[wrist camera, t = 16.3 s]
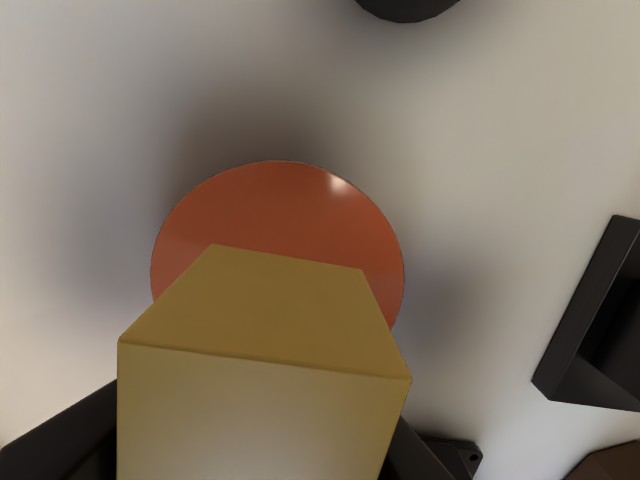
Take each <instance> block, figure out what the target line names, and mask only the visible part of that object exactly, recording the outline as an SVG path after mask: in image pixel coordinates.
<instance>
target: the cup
mask: <svg viewBox="0 0 640 480" xmlns="http://www.w3.org/2000/svg"><path fill="white" fill-rule="evenodd" d="M355 1H356V2H357V3H358V4H359V5H360V6H361V7H362V8H363V9H365V10H367V11H368V12H370V13H372V14H373V15H375V16H377V17H379V18H381V19H385V20H389V21H392V22H396V23H412V22H420V21H423V20H426V19H429V18H432V17H435V16H437V15H439V14H440V13H442V12H444V11H445V10H447V9H448V8H450V7H451V6H453V5H454V4H456V3H457V2H459V1H460V0H355Z"/></svg>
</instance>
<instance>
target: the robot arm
mask: <svg viewBox="0 0 640 480" xmlns="http://www.w3.org/2000/svg"><path fill="white" fill-rule="evenodd" d="M482 458H483V454H482V452H481V451H480V449H479V447H478V446H477V445H476V444H473V443H464V442H455V441H446V440H437V439H428V438H419V436H418V435H417V434H416V433H415V432H414V431H413V429H412V428H411V427H410V426H409V425H408V423H407V422H406V421H405V420H404V419H403V418H402V416H401V415H400V416H399V419H398V422H397V425H396V428H395V431H394V433H393V436H392V439H391V442H390V445H389V448H388V451H387V453H386V456H385V459H384V462H383V465H382V468H381V470H380V473H379V476H378V479H377V480H473V477H474V475H475V473H476V471H477V469H478V466H479V464H480V462H481V460H482ZM116 469H117V379H115V380H114V381H112V382H110V383H109V384H107V385H105V386H104V387H102V388H100V389H99V390H97V391H95V392H94V393H92V394H90V395H89V396H87V397H85V398H84V399H82V400H80V401H79V402H77V403H75V404H74V405H72V406H70V407H69V408H67V409H65V410H64V411H62V412H60V413H59V414H57V415H55V416H54V417H52V418H50V419H49V420H47V421H46V422H44V423H42V424H41V425H39V426H37V427H36V428H34V429H32V430H31V431H29V432H27V433H26V434H24V435H22V436H21V437H19V438H17V439H16V440H14V441H12V442H11V443H9V444H7V445H6V446H4V447H3V448H2V449H1V450H0V480H116Z"/></svg>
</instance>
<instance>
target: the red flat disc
mask: <svg viewBox="0 0 640 480" xmlns="http://www.w3.org/2000/svg"><path fill="white" fill-rule="evenodd" d="M211 244H217V245H222V246H228V247H234V248H240V249H246V250H252V251H257V252H263V253H269V254H275V255H281V256H287V257H292V258H298V259H304V260H310V261H316V262H322V263H327V264H333V265H339V266H345V267H351V268H357V269H361V270H362V271H363V273H364V275H365V278H366V280H367V282H368V284H369V286H370V288H371V290H372V293H373V295H374V297H375V299H376V301H377V303H378V305H379V308H380V310H381V312H382V314H383V316H384V318H385V320H386V323H387V325H388V327H389V329H390V330H391V328H392V326H393V325H394V323H395V320H396V318H397V315H398V312H399V310H400V306H401V302H402V297H403V290H404V265H403V260H402V254H401V250H400V247H399V244H398V241H397V238H396V236H395V234H394V232H393V230H392V228H391V226H390V224H389V222H388V221H387V219H386V218H385V216H384V215H383V214H382V212H381V211H380V209H379V208H378V207H377V206H376V205H375V204H374V203H373V202H372V201H371V200H370V199H369V197H368V196H366V195H365V194H364V193H363V192H361V191H360V190H359V189H358V188H356V187H355V186H354V185H353V184H351V183H350V182H349V181H347V180H345V179H344V178H342V177H340V176H339V175H337V174H335V173H333V172H331V171H328V170H326V169H324V168H321V167H318V166H315V165H311V164H307V163H304V162H297V161H290V160H266V161H259V162H252V163H248V164H245V165H241V166H237V167H234V168H230V169H228V170H225V171H223V172H221V173H218V174H216V175H214V176H212V177H210V178H209V179H207V180H205V181H204V182H202V183H200V184H199V185H197V186H196V187H195V188H194V189H192V190H191V191H190V192H189V193H188V194H186V195H185V196H184V197H183V198H182V199H181V200H180V202H179V203H178V204H177V205H176V206H175V207H174V208H173V209H172V211H171V212H170V214H169V216H168V217H167V219H166V220H165V222H164V223H163V225H162V227H161V230H160V232H159V234H158V236H157V239H156V242H155V246H154V249H153V253H152V260H151V268H150V278H151V290H152V295H153V301H154V302H155V301H156V300H157V299H158V298H159V297H160V296H161V295H162V294H163V293H164V292H165V291H166V289H167V288H168V287H169V286H170V285H171V284H172V283H173V282H174V281H175V280H176V279H177V278H178V277H179V276H180V275H181V274H182V273H183V272H184V271H185V270H186V269H187V268H188V267H189V266H190V265H191V264H192V263H193V262H194V261H195V260H196V259H197V258H198V257H199V256H200V255H201V254H202V253H203V252H204V251H205V250H206V249H207V248H208V247H209V246H210V245H211Z"/></svg>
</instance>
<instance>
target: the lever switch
mask: <svg viewBox="0 0 640 480" xmlns="http://www.w3.org/2000/svg"><path fill="white" fill-rule="evenodd" d="M532 383H533V384H534V385H535V386H536V388H537V389H538V390H539V391H540V392H541V393H542V394H543V395H544V396H545V397H546V398H547V399H548V400H550V401H558V402H565V403H573V404H580V405H588V406H595V407H603V408H610V409H618V410H625V411H633V412H640V220H637V219H633V218H628V217H623V216H619V215H614V217H613V219H612V221H611V223H610V225H609V227H608V229H607V231H606V233H605V235H604V237H603V239H602V241H601V243H600V245H599V247H598V249H597V251H596V253H595V255H594V257H593V259H592V261H591V263H590V265H589V267H588V269H587V271H586V273H585V275H584V277H583V279H582V281H581V283H580V285H579V287H578V289H577V291H576V293H575V295H574V297H573V299H572V301H571V303H570V305H569V307H568V309H567V311H566V313H565V315H564V317H563V319H562V321H561V323H560V325H559V327H558V329H557V331H556V333H555V335H554V337H553V339H552V341H551V343H550V345H549V347H548V349H547V351H546V353H545V355H544V358H543V360H542V362H541V364H540V366H539V368H538V370H537V372H536V374H535V376H534V378H533V380H532Z"/></svg>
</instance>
